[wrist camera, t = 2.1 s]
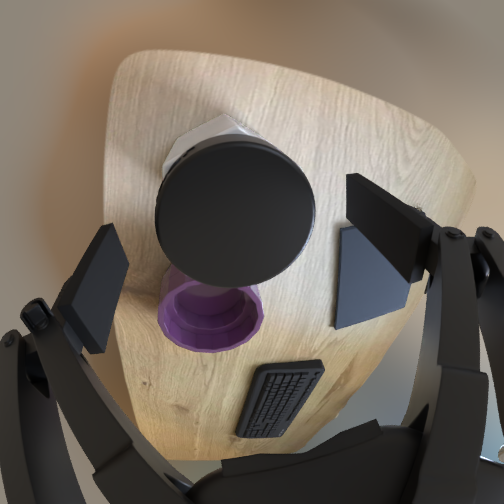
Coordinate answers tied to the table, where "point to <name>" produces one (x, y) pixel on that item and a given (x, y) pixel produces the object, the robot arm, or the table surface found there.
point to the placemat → (365, 281)
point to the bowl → (207, 313)
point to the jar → (232, 206)
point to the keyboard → (277, 397)
